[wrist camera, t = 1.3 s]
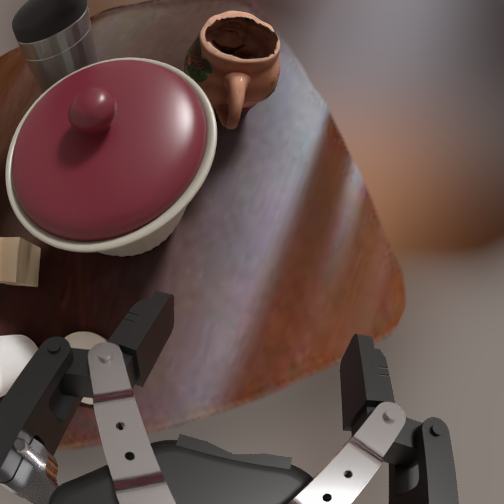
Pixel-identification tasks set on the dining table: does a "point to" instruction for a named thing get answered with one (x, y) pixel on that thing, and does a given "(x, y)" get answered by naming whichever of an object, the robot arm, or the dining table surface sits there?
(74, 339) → the cream saucer
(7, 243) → the beech block
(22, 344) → the can
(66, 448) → the dining table surface
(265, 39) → the decorative planter
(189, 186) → the canister
